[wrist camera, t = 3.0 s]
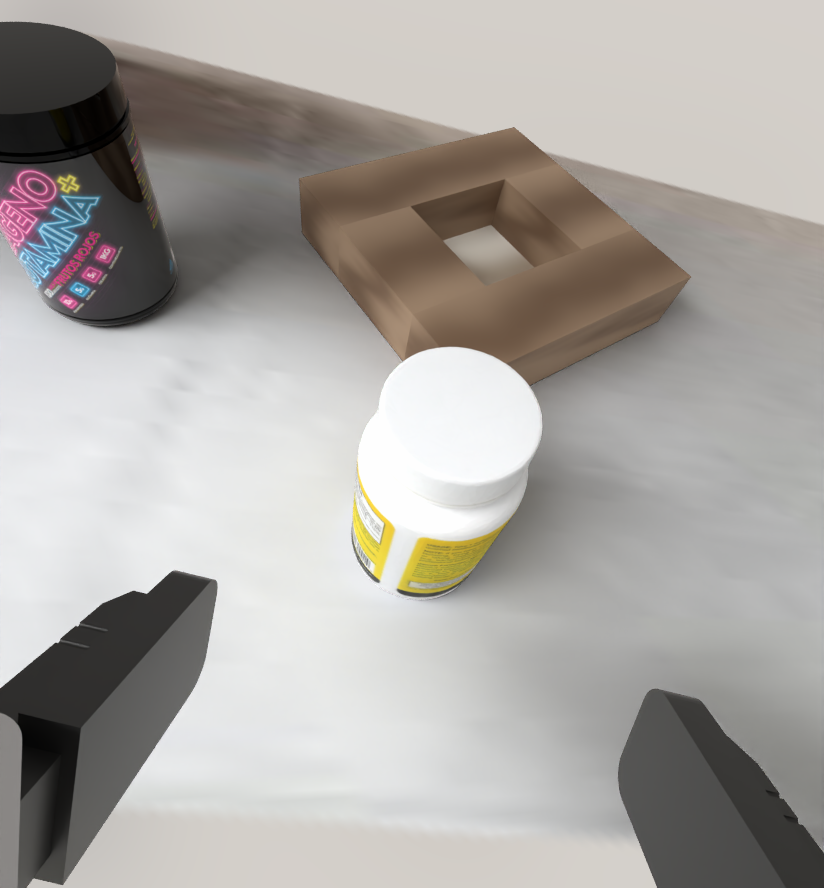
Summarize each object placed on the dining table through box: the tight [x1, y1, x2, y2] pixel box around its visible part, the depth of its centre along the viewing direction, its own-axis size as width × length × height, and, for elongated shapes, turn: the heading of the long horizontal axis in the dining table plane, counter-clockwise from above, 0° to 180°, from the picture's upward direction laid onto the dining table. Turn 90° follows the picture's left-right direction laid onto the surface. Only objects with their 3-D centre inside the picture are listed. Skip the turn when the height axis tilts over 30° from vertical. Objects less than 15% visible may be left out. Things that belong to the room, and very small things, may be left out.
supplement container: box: [0, 22, 178, 326], centre depth 23 cm, size 7×7×10 cm
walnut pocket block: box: [299, 127, 691, 386], centre depth 31 cm, size 16×16×4 cm
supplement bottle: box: [351, 347, 543, 600], centre depth 18 cm, size 6×6×10 cm
